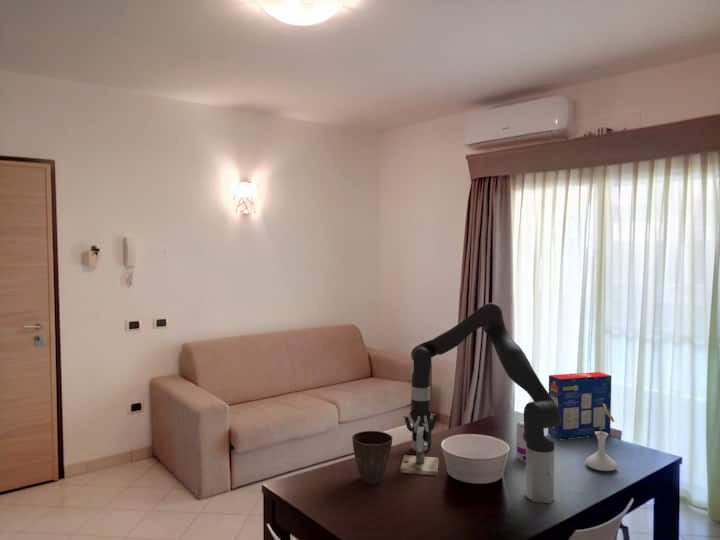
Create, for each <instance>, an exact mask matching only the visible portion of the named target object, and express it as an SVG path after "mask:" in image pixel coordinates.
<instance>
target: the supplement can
mask: <svg viewBox="0 0 720 540" xmlns="http://www.w3.org/2000/svg"><path fill="white" fill-rule="evenodd" d="M516 424H517V425H516V451H515V452H516V455H515V457H516V458H517V459H518V460H519V461H521V462H524V461H526V439H525V436H524V419H522V420H518V422H517V423H516Z"/></svg>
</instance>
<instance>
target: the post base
mask: <svg viewBox="0 0 720 540" xmlns="http://www.w3.org/2000/svg"><path fill="white" fill-rule="evenodd" d="M439 459H440V458H439V457H435V456H434V457H431V456H425V452H418V451H415V455H407V454H404V455H403V458H402V461H401V465H400V469H399V471H400V473H401V474H402V473H403V474H404V473H405V474H416V475H427V476H438V471H439V461H440V460H439Z"/></svg>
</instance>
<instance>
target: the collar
mask: <svg viewBox="0 0 720 540" xmlns="http://www.w3.org/2000/svg"><path fill="white" fill-rule="evenodd" d="M423 435H424V427H418V430H417V436H416V442H415V441H413V440H412V450H413V451H415V452H416V451H418V452H424V451H427V450H428V442H426V441H424V439H423ZM424 453H425V452H424Z"/></svg>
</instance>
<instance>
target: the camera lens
mask: <svg viewBox="0 0 720 540" xmlns="http://www.w3.org/2000/svg"><path fill="white" fill-rule="evenodd" d="M430 420H431V418H430V417H429V419H428V420H427V422H428V425H429V422H430ZM418 427H423V424H422V423H420V424H419V425H418ZM417 430H418V428H417ZM413 441H414V440H413V439H412V442H413ZM426 442H428V450H427V451H428V452H430V450H431V447H432V430H429V432H428V439H427V441H426ZM424 453H426V452H425V451H424Z"/></svg>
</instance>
